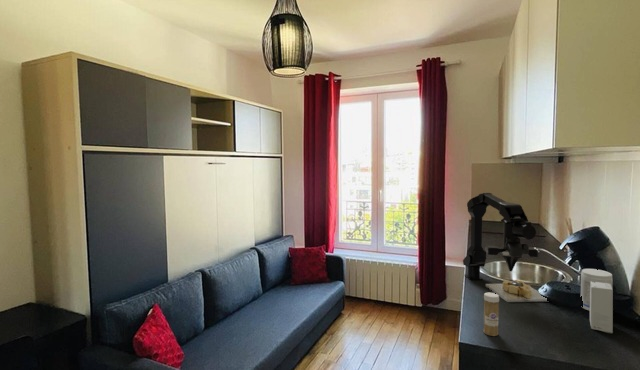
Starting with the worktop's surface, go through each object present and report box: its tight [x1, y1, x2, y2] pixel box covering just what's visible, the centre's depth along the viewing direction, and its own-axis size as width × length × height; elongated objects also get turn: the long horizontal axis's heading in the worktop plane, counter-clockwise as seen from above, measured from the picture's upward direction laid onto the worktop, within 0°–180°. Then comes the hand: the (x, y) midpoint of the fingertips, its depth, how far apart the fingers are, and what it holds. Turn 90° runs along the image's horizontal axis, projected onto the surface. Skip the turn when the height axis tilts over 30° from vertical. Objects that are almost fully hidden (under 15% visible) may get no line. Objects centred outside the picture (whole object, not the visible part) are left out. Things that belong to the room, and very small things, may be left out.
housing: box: [485, 281, 548, 303], centre depth 149 cm, size 18×18×4 cm
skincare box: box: [589, 281, 614, 334], centre depth 118 cm, size 8×6×15 cm
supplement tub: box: [580, 268, 614, 312], centre depth 132 cm, size 10×10×15 cm
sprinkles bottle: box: [482, 292, 500, 337], centre depth 114 cm, size 5×5×14 cm
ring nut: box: [502, 279, 532, 298], centre depth 147 cm, size 14×10×3 cm
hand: (510, 271), depth 142 cm, fingers closed
